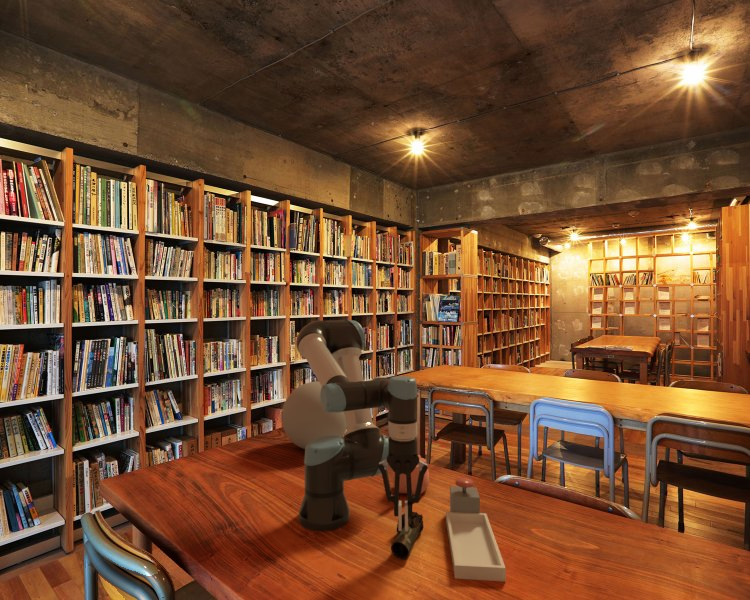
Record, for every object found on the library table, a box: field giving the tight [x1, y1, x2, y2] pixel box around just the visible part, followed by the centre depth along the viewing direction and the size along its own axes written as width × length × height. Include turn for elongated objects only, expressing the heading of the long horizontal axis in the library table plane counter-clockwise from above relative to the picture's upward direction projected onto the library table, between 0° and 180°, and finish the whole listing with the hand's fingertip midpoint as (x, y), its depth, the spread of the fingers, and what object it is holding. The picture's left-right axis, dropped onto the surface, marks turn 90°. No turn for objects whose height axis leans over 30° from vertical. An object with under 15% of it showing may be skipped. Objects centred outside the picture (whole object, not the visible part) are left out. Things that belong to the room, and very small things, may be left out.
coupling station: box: [445, 477, 507, 582], centre depth 114 cm, size 12×33×11 cm, turn 175°
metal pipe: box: [390, 511, 424, 561], centre depth 113 cm, size 18×7×6 cm, turn 159°
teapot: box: [392, 454, 430, 496], centre depth 145 cm, size 20×12×12 cm, turn 158°
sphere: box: [281, 381, 347, 450], centre depth 189 cm, size 30×30×30 cm
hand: (403, 528), depth 109 cm, fingers closed
